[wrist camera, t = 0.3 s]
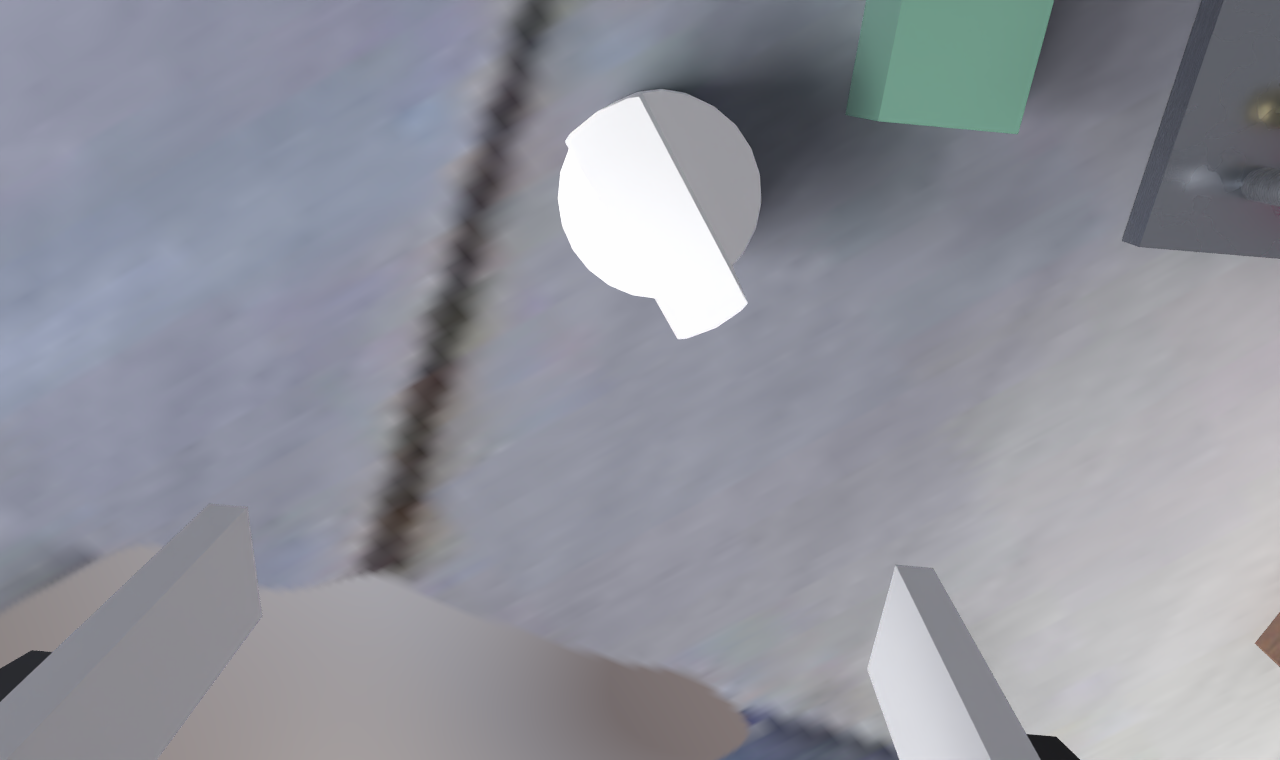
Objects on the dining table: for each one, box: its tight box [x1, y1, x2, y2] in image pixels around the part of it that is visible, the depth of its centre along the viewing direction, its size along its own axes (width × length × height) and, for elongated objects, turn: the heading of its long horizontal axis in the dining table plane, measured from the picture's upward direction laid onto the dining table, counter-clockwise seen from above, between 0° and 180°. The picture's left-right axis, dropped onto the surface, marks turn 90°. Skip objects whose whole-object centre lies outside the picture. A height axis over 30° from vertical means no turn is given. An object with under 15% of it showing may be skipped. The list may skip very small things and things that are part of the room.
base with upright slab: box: [558, 89, 761, 339], centre depth 32 cm, size 9×9×12 cm
